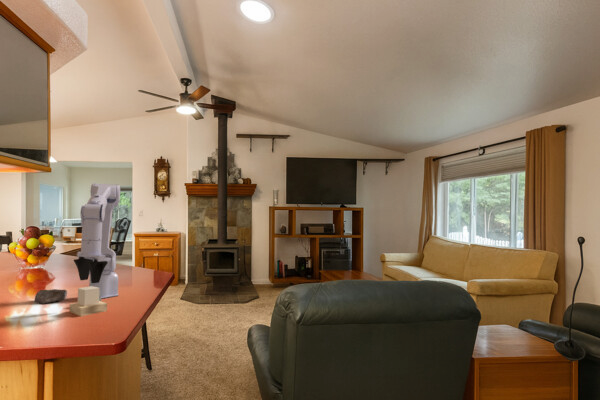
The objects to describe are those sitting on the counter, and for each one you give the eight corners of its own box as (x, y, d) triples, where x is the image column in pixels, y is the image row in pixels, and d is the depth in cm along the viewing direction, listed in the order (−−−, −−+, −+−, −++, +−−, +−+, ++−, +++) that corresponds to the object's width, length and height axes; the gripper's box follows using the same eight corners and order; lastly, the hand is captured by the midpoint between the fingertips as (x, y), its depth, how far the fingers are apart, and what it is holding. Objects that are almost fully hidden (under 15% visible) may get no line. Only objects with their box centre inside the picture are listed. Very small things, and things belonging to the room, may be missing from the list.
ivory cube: (91, 301, 117) (92, 286, 118) (98, 303, 115) (99, 287, 115) (77, 303, 114) (78, 288, 114) (84, 305, 111) (85, 290, 111)
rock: (68, 297, 133) (68, 286, 133) (57, 304, 123) (58, 292, 123) (41, 298, 130) (41, 287, 131) (27, 305, 120) (28, 293, 120)
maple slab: (95, 308, 120) (95, 299, 120) (106, 312, 115) (107, 302, 115) (69, 313, 113) (69, 303, 113) (80, 317, 109) (81, 307, 109)
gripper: (68, 239, 116) (66, 280, 115) (89, 242, 108) (87, 286, 107) (90, 238, 122) (88, 277, 121) (112, 241, 114) (110, 282, 113)
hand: (89, 281), depth 115 cm, fingers open, 7 cm apart
